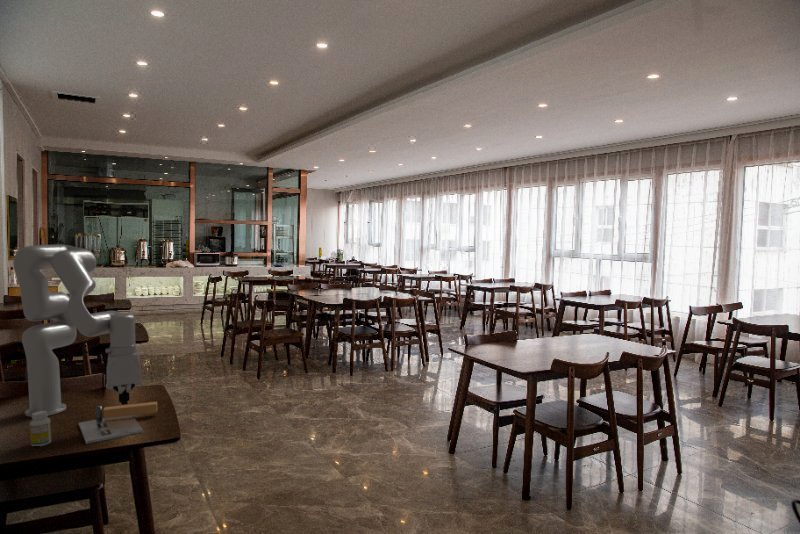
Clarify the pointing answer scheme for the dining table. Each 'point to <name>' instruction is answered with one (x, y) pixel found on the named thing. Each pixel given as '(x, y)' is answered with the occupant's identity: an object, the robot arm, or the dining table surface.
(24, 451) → the dining table surface
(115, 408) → the swing bar
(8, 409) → the dining table surface
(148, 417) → the dining table surface
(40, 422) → the supplement bottle
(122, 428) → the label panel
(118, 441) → the dining table surface
